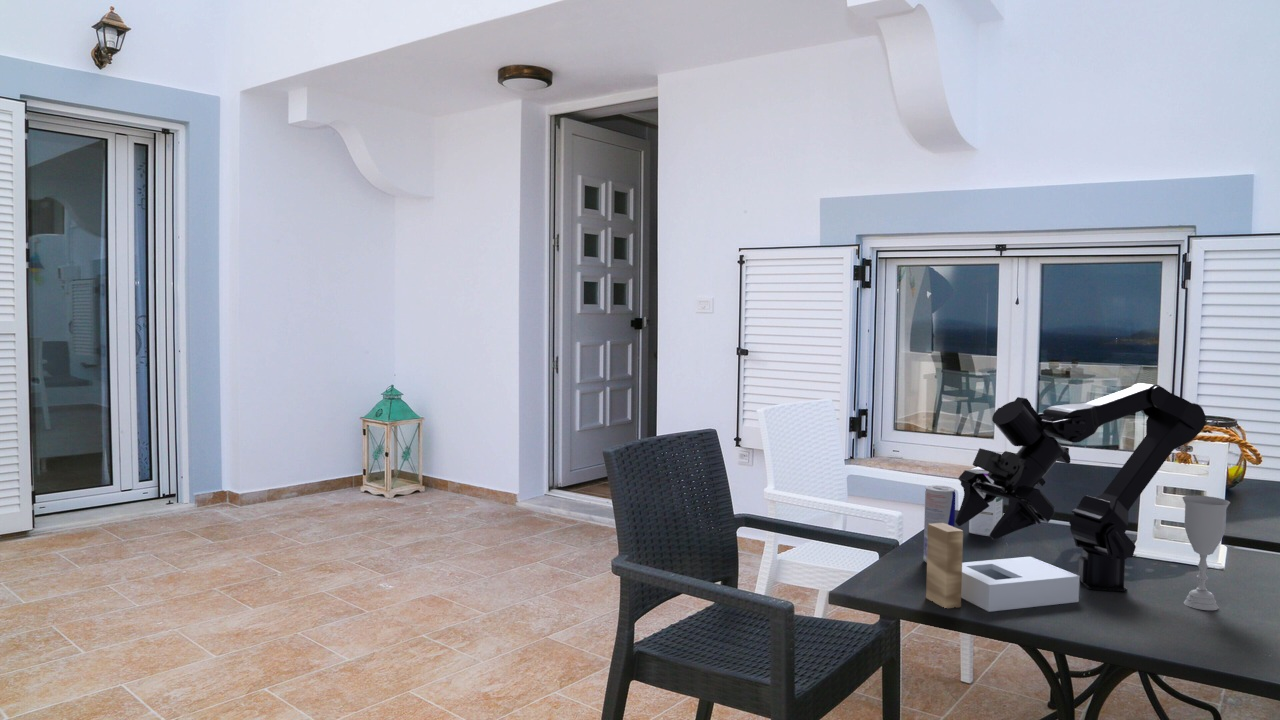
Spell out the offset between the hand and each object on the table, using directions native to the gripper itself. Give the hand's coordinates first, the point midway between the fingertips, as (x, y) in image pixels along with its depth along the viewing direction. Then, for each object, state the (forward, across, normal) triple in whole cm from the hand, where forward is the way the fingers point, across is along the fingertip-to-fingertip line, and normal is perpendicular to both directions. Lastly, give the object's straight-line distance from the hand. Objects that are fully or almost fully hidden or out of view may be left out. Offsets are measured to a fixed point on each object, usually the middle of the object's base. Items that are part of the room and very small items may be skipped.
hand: (973, 530), depth 151 cm
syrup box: (-14, -37, +31) cm, 50 cm away
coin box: (+3, 0, +14) cm, 14 cm away
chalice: (-17, +13, +34) cm, 40 cm away
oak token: (+12, 0, +4) cm, 13 cm away
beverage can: (+4, -20, +14) cm, 24 cm away
